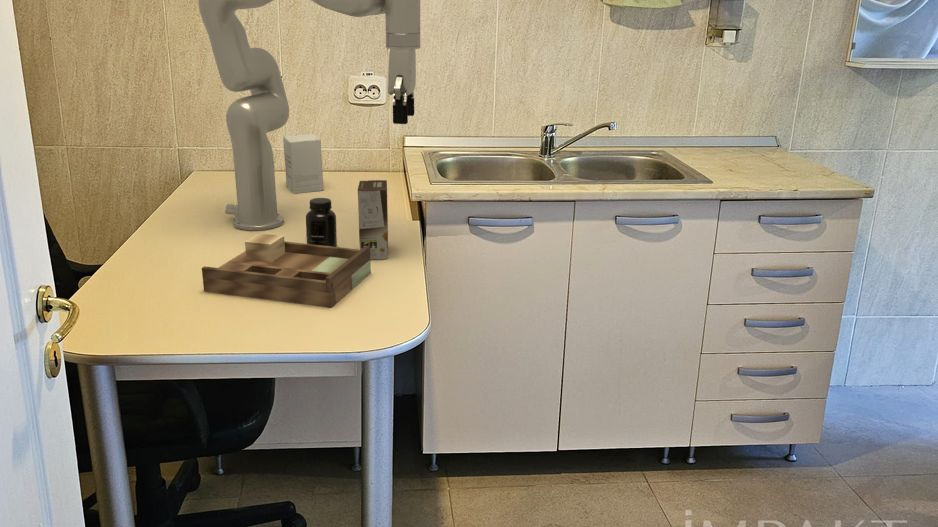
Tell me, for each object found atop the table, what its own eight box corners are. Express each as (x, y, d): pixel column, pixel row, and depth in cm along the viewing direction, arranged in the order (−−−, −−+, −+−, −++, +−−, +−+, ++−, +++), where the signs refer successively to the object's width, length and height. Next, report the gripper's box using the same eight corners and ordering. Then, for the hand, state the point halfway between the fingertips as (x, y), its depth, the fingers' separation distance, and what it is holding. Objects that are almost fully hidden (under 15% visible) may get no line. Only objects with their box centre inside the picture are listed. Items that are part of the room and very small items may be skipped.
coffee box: (388, 259, 194) (386, 190, 188) (359, 260, 193) (357, 190, 188) (388, 246, 202) (387, 179, 197) (361, 246, 202) (358, 179, 196)
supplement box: (316, 183, 255) (313, 133, 250) (324, 191, 247) (321, 139, 242) (285, 186, 252) (282, 135, 247) (292, 194, 244) (289, 141, 239)
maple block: (246, 259, 184) (244, 241, 183) (260, 250, 189) (259, 233, 188) (271, 262, 182) (270, 244, 181) (285, 253, 188) (284, 235, 187)
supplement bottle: (312, 257, 195) (309, 205, 191) (303, 248, 200) (300, 198, 196) (341, 252, 198) (339, 202, 194) (331, 244, 203) (329, 194, 199)
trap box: (203, 291, 175) (201, 263, 173) (253, 259, 193) (251, 233, 191) (331, 307, 168) (330, 278, 166) (370, 272, 186) (369, 246, 184)
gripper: (392, 36, 196) (393, 112, 202) (378, 44, 180) (380, 126, 186) (425, 37, 196) (425, 113, 202) (414, 45, 180) (414, 127, 186)
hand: (403, 119), depth 194 cm, fingers open, 9 cm apart
